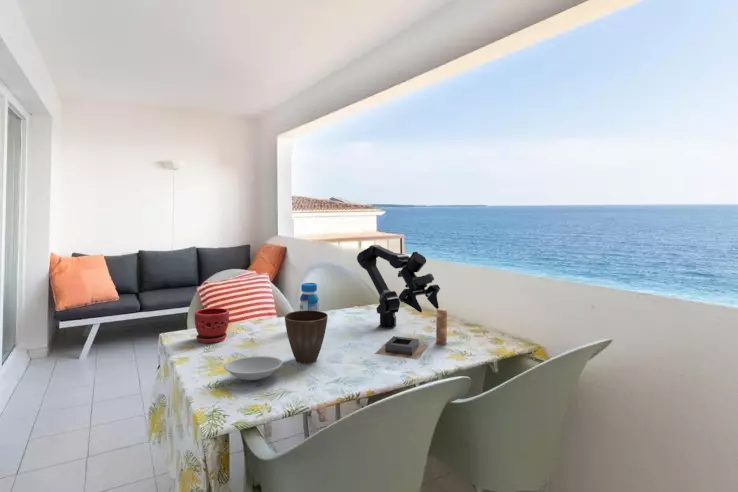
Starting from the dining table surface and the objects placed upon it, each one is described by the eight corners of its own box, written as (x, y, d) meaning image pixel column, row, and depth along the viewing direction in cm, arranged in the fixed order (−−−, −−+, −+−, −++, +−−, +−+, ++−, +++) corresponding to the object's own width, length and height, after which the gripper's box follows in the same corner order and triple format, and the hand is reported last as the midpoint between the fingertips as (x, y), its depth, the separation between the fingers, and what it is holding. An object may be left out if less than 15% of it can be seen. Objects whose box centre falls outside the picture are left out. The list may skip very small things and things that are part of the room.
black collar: (385, 352, 155) (385, 343, 155) (393, 343, 165) (393, 336, 164) (411, 355, 152) (411, 347, 152) (418, 346, 161) (418, 339, 161)
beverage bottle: (317, 331, 185) (317, 285, 183) (298, 331, 185) (297, 285, 183) (320, 325, 193) (320, 282, 191) (301, 325, 193) (301, 282, 191)
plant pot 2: (329, 352, 158) (329, 310, 156) (326, 367, 143) (326, 320, 141) (288, 353, 157) (288, 310, 156) (281, 368, 142) (281, 321, 141)
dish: (285, 370, 141) (285, 355, 140) (279, 388, 126) (278, 372, 126) (231, 371, 140) (230, 356, 139) (218, 390, 125) (217, 373, 125)
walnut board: (374, 356, 154) (374, 353, 154) (388, 343, 169) (388, 340, 169) (417, 362, 148) (417, 359, 148) (428, 347, 163) (428, 345, 163)
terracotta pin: (435, 346, 165) (435, 310, 164) (437, 343, 169) (437, 308, 168) (445, 347, 164) (446, 311, 162) (447, 344, 167) (448, 309, 166)
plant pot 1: (218, 345, 165) (217, 315, 164) (188, 343, 168) (187, 313, 167) (235, 335, 178) (235, 307, 177) (207, 334, 181) (206, 306, 180)
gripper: (403, 269, 168) (422, 301, 160) (437, 265, 179) (456, 295, 171) (390, 286, 175) (408, 318, 167) (424, 281, 186) (442, 311, 178)
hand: (429, 310), depth 170 cm, fingers open, 9 cm apart
